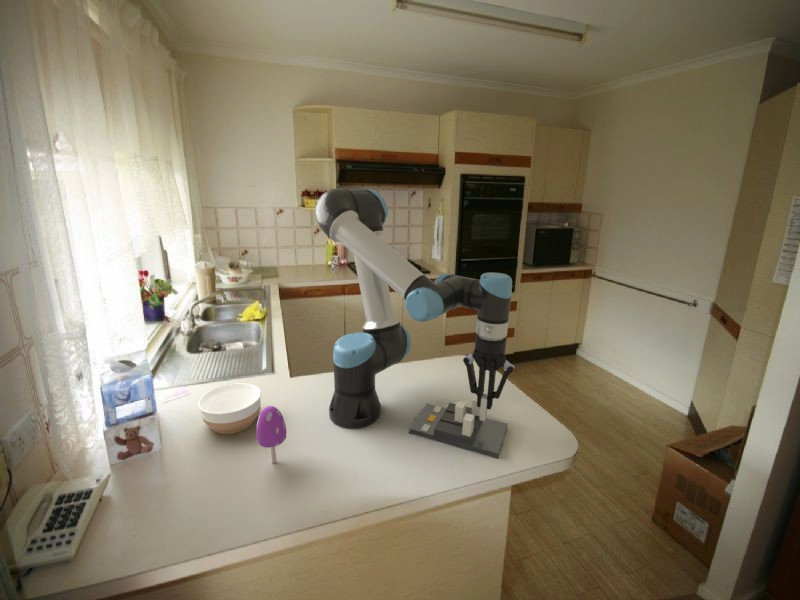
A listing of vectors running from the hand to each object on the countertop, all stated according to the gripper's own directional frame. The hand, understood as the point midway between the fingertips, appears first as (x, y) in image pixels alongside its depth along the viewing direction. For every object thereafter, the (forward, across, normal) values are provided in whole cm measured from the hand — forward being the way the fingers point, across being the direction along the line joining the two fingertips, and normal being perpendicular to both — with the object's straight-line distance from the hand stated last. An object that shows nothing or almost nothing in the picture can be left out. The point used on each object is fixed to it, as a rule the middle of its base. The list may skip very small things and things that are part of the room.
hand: (483, 417), depth 103 cm
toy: (+6, -44, -31) cm, 54 cm away
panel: (+6, -6, 0) cm, 8 cm away
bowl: (+6, -65, -23) cm, 69 cm away
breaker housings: (+4, -6, 0) cm, 8 cm away
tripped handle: (+2, -6, 0) cm, 7 cm away
